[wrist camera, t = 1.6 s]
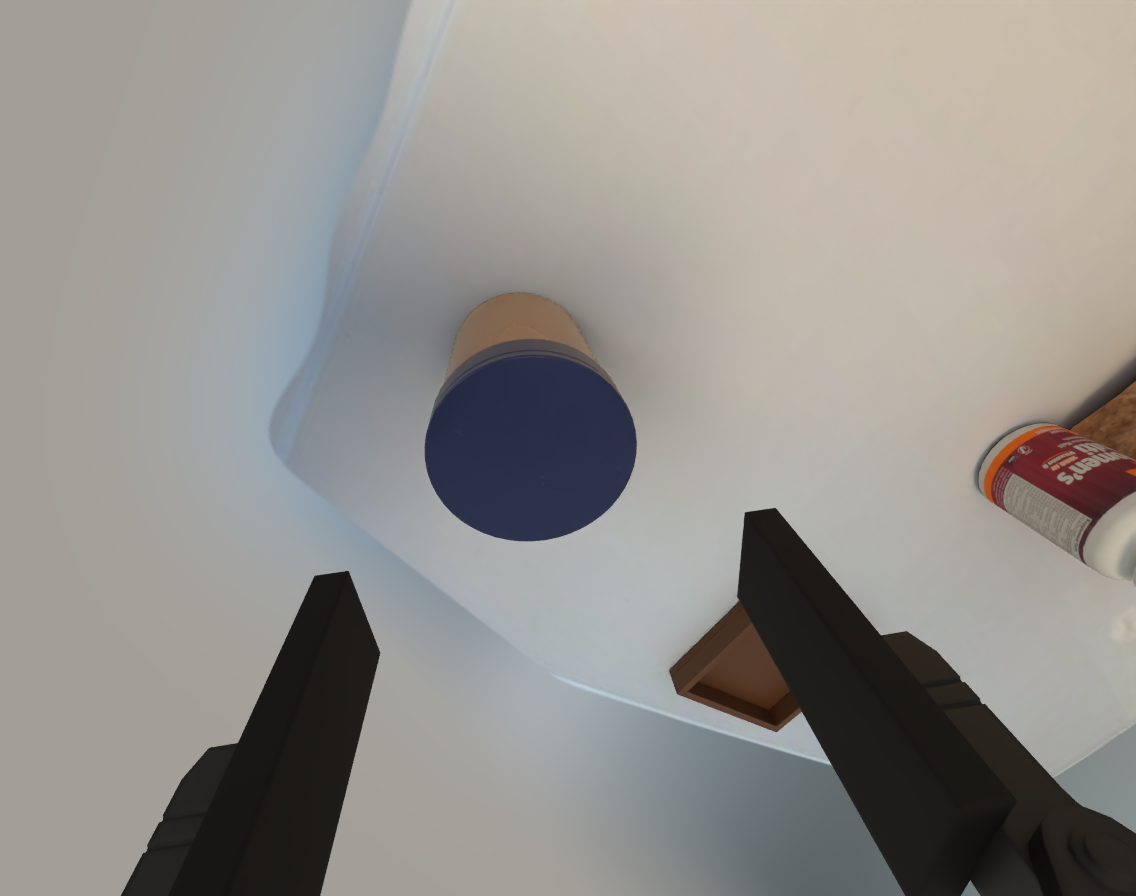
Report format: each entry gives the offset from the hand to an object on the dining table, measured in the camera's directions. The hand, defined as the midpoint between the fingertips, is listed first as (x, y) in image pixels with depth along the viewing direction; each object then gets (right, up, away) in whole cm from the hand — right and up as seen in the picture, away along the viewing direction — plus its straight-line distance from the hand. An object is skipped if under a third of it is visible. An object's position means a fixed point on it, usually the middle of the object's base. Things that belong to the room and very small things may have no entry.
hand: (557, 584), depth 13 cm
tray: (+16, -12, +28) cm, 35 cm away
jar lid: (-1, +3, +6) cm, 7 cm away
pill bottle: (+31, +3, +22) cm, 38 cm away
